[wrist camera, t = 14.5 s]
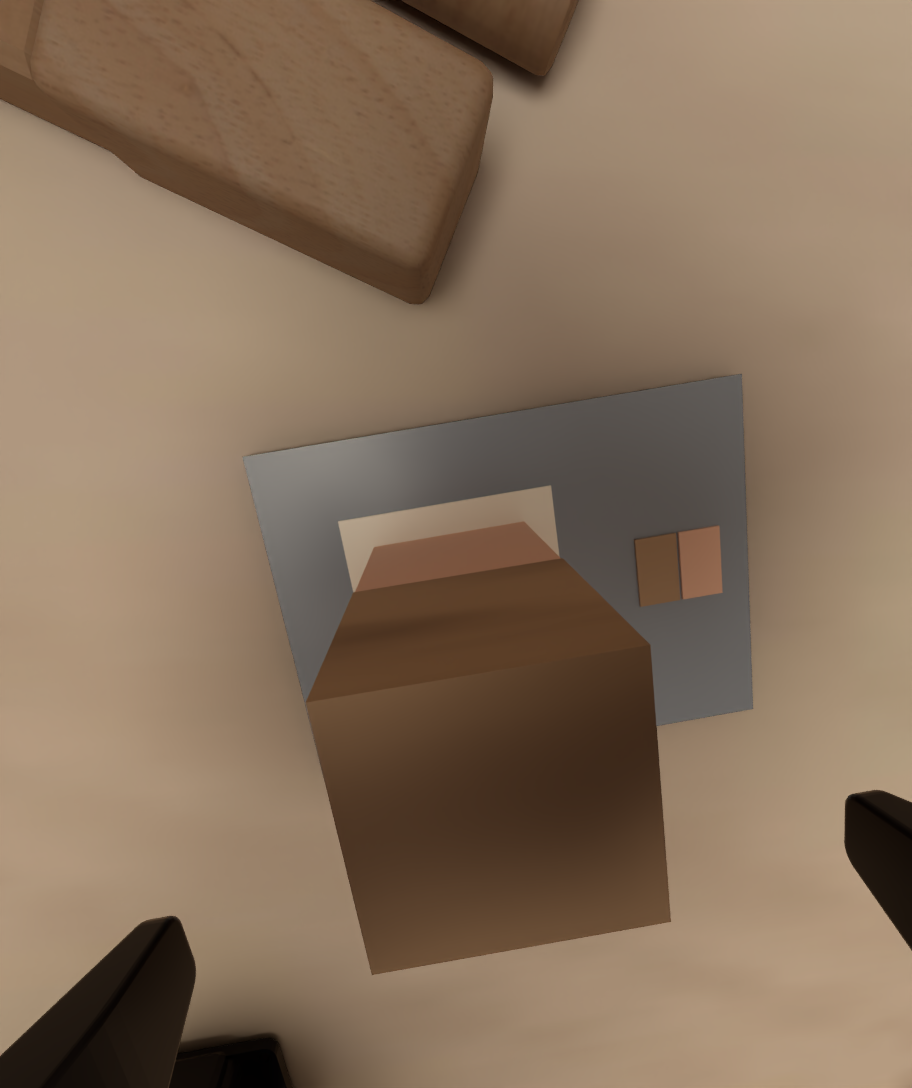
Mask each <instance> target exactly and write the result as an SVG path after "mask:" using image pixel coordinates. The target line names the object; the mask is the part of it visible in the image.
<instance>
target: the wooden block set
mask: <svg viewBox="0 0 912 1088" xmlns="http://www.w3.org/2000/svg"><path fill="white" fill-rule="evenodd" d="M401 1H403V2H405V3H407V4H409V5H411V6H412V7H414V8H416V9H418V10H420V11H421V12H423V13H425V14H427V15H429V16H430V17H432V18H434V19H436V20H438V21H439V22H441V23H443V24H445V25H447V26H448V27H450V28H452V29H454V30H456V31H457V32H459V33H461V34H463V35H465V36H466V37H468V38H470V39H472V40H474V41H475V42H477V43H479V44H481V45H483V46H484V47H486V48H488V49H490V50H492V51H493V52H495V53H497V54H499V55H501V56H502V57H504V58H506V59H508V60H510V61H511V62H513V63H515V64H517V65H519V66H520V67H522V68H524V69H526V70H528V71H530V72H531V73H533V74H535V75H545V74H546V73H547V72H548V71H549V69H550V68H551V67H552V65H553V62H554V60H555V58H556V55H557V53H558V51H559V48H560V46H561V43H562V41H563V38H564V36H565V33H566V31H567V28H568V26H569V23H570V21H571V18H572V16H573V13H574V11H575V8H576V5H577V3H578V0H401ZM492 98H493V76H492V73H491V72H490V70H489V69H488V68H487V67H486V66H485V65H484V64H483V63H482V61H480V60H478V59H476V58H474V57H472V56H471V55H469V54H467V53H465V52H463V51H462V50H460V49H458V48H456V47H454V46H452V45H451V44H449V43H447V42H445V41H443V40H442V39H440V38H438V37H436V36H434V35H432V34H431V33H429V32H427V31H425V30H423V29H422V28H420V27H418V26H416V25H414V24H412V23H411V22H409V21H407V20H405V19H403V18H402V17H400V16H398V15H396V14H394V13H392V12H391V11H389V10H387V9H385V8H383V7H382V6H380V5H378V4H376V3H374V2H372V1H371V0H0V99H2V100H4V101H7V102H9V103H11V104H13V105H15V106H17V107H19V108H21V109H23V110H25V111H28V112H30V113H32V114H34V115H36V116H38V117H40V118H42V119H44V120H47V121H49V122H51V123H53V124H55V125H57V126H59V127H61V128H63V129H66V130H68V131H70V132H72V133H74V134H76V135H78V136H80V137H82V138H85V139H87V140H89V141H91V142H93V143H95V144H97V145H99V146H101V147H104V148H106V149H108V150H110V151H111V152H112V153H113V154H115V155H116V156H117V157H118V158H119V159H121V160H122V161H123V162H124V163H125V164H126V165H128V166H129V167H130V168H131V169H132V170H134V171H135V172H136V173H137V174H138V175H139V176H141V177H142V178H144V179H147V180H149V181H151V182H153V183H155V184H157V185H159V186H161V187H164V188H166V189H168V190H170V191H172V192H174V193H176V194H178V195H181V196H183V197H185V198H187V199H189V200H191V201H193V202H195V203H198V204H200V205H202V206H204V207H206V208H208V209H210V210H212V211H214V212H217V213H219V214H221V215H223V216H225V217H227V218H229V219H231V220H234V221H236V222H238V223H240V224H242V225H244V226H246V227H248V228H251V229H253V230H255V231H257V232H259V233H261V234H263V235H265V236H268V237H270V238H272V239H274V240H276V241H278V242H280V243H282V244H285V245H287V246H289V247H291V248H293V249H295V250H297V251H299V252H301V253H304V254H306V255H308V256H310V257H312V258H314V259H316V260H318V261H321V262H323V263H325V264H327V265H329V266H331V267H333V268H335V269H338V270H340V271H342V272H344V273H346V274H348V275H350V276H352V277H355V278H357V279H359V280H361V281H363V282H365V283H367V284H369V285H372V286H374V287H376V288H378V289H380V290H382V291H384V292H386V293H388V294H391V295H393V296H395V297H397V298H399V299H401V300H403V301H405V302H408V303H410V304H422V303H423V302H424V301H425V300H426V299H427V298H428V296H429V295H430V293H431V290H432V288H433V285H434V283H435V280H436V278H437V275H438V272H439V270H440V267H441V265H442V262H443V260H444V257H445V255H446V252H447V249H448V247H449V244H450V242H451V239H452V237H453V234H454V232H455V229H456V226H457V224H458V221H459V219H460V216H461V214H462V211H463V208H464V206H465V203H466V201H467V198H468V196H469V193H470V191H471V188H472V185H473V183H474V180H475V178H476V175H477V173H478V169H479V164H480V159H481V154H482V149H483V143H484V138H485V133H486V128H487V123H488V118H489V113H490V108H491V103H492Z"/></svg>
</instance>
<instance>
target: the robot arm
mask: <svg viewBox="0 0 912 1088" xmlns="http://www.w3.org/2000/svg"><path fill="white" fill-rule="evenodd" d="M844 843H845V849H846V853H847V855H848V858H849V860H850V862H851V864H852V865H853V867H854V868H855V870H856V871H857V873H858V874H859V876H860V877H861V878H862V880H863V881H864V883H865V884H866V886H867V887H868V888H869V890H870V891H871V893H872V894H873V896H874V897H875V898H876V900H877V901H878V903H879V904H880V906H881V907H882V908H883V910H884V911H885V913H886V914H887V916H888V917H889V919H890V920H891V921H892V923H893V924H894V926H895V927H896V929H897V930H898V931H899V933H900V934H901V936H902V937H903V939H904V940H905V941H906V943H907V944H908V946H909V947H910V949H911V950H912V802H909V801H907V800H905V799H902V798H900V797H897V796H895V795H892V794H890V793H888V792H885V791H881V790H872V791H866V792H861V793H855V794H851V795H849V796H848V798H847V799H846V801H845V837H844ZM195 977H196V966H195V961H194V957H193V955H192V952H191V949H190V946H189V943H188V940H187V938H186V935H185V932H184V929H183V926H182V924H181V921H180V920H179V919H178V918H177V917H176V916H167V917H161V918H156V919H150V920H147V921H144V922H142V923H141V924H139V925H138V926H137V927H136V928H135V929H134V930H133V931H132V932H131V933H129V934H128V935H127V936H126V937H125V938H124V939H123V940H122V941H121V942H120V943H119V944H118V945H117V946H116V947H115V948H114V949H113V950H112V951H110V952H109V953H108V954H107V955H106V956H105V957H104V958H103V959H102V960H101V961H100V962H99V963H98V964H97V965H96V966H95V967H94V968H93V969H91V970H90V971H89V972H88V973H87V974H86V975H85V976H84V977H83V978H82V979H81V980H80V981H79V982H78V983H77V984H76V985H75V986H74V987H72V988H71V989H70V990H69V991H68V992H67V993H66V994H65V995H64V996H63V997H62V998H61V999H60V1000H59V1001H58V1002H57V1003H56V1004H55V1005H53V1006H52V1007H51V1008H50V1009H49V1010H48V1011H47V1012H46V1013H45V1014H44V1015H43V1016H42V1017H41V1018H40V1019H39V1020H38V1021H37V1022H36V1023H34V1024H33V1025H32V1026H31V1027H30V1028H29V1029H28V1030H27V1031H26V1032H25V1033H24V1034H23V1035H22V1036H21V1037H20V1038H19V1039H18V1040H17V1041H15V1042H14V1043H13V1044H12V1045H11V1046H10V1047H9V1048H8V1049H7V1050H6V1051H5V1052H4V1053H3V1054H2V1055H1V1056H0V1088H293V1087H292V1084H291V1081H290V1078H289V1074H288V1071H287V1068H286V1065H285V1062H284V1059H283V1056H282V1053H281V1049H280V1046H279V1044H278V1042H277V1041H275V1040H274V1039H271V1038H263V1039H258V1040H252V1041H247V1042H241V1043H236V1044H231V1045H225V1046H220V1047H214V1048H209V1049H204V1050H198V1051H193V1052H187V1053H182V1054H177V1053H178V1049H179V1045H180V1041H181V1037H182V1033H183V1029H184V1025H185V1021H186V1017H187V1013H188V1009H189V1005H190V1001H191V997H192V993H193V989H194V984H195Z"/></svg>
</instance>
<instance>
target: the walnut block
mask: <svg viewBox="0 0 912 1088" xmlns="http://www.w3.org/2000/svg"><path fill="white" fill-rule="evenodd" d="M306 707H307V711H308V715H309V719H310V723H311V727H312V731H313V735H314V739H315V743H316V748H317V752H318V756H319V760H320V764H321V768H322V772H323V776H324V780H325V784H326V789H327V793H328V797H329V801H330V805H331V809H332V813H333V817H334V821H335V825H336V830H337V834H338V838H339V842H340V846H341V850H342V854H343V858H344V862H345V866H346V870H347V875H348V879H349V883H350V887H351V891H352V895H353V899H354V903H355V907H356V911H357V916H358V920H359V924H360V928H361V932H362V936H363V940H364V944H365V948H366V952H367V957H368V961H369V965H370V969H371V973H372V975H374V974H380V973H385V972H391V971H397V970H402V969H408V968H413V967H419V966H425V965H430V964H436V963H442V962H447V961H453V960H458V959H464V958H470V957H475V956H481V955H487V954H492V953H498V952H503V951H509V950H515V949H520V948H526V947H532V946H537V945H543V944H548V943H554V942H560V941H565V940H571V939H577V938H582V937H588V936H593V935H599V934H605V933H610V932H616V931H622V930H627V929H633V928H638V927H644V926H650V925H655V924H661V923H666V922H671V918H670V904H669V891H668V877H667V863H666V850H665V836H664V822H663V809H662V795H661V781H660V768H659V754H658V740H657V727H656V713H655V699H654V686H653V672H652V658H651V645H650V644H649V643H648V642H647V641H646V640H645V639H644V638H643V637H642V636H641V635H640V634H639V633H638V632H637V631H636V630H635V629H634V628H633V627H632V626H631V625H630V624H629V623H628V622H627V621H626V620H625V619H624V618H623V617H622V616H621V615H620V614H619V613H618V612H617V611H616V610H615V609H614V608H613V607H612V606H611V605H610V604H609V603H608V602H607V601H606V600H605V599H604V598H603V597H602V596H601V595H600V594H599V593H598V592H597V591H596V590H595V589H594V588H592V587H591V586H590V585H589V584H588V583H587V582H586V581H585V580H584V579H583V578H582V577H581V576H580V575H579V574H578V573H577V572H576V571H575V570H574V569H573V568H572V567H571V566H570V565H569V564H568V563H567V562H566V561H565V560H564V559H563V558H560V559H554V560H548V561H542V562H536V563H530V564H523V565H517V566H511V567H505V568H499V569H493V570H487V571H481V572H475V573H468V574H462V575H456V576H450V577H444V578H438V579H432V580H426V581H420V582H414V583H407V584H401V585H395V586H389V587H383V588H377V589H371V590H365V591H359V592H353V594H352V596H351V599H350V601H349V603H348V606H347V608H346V610H345V613H344V615H343V617H342V619H341V622H340V624H339V626H338V629H337V631H336V633H335V636H334V638H333V640H332V643H331V645H330V647H329V650H328V652H327V654H326V656H325V659H324V661H323V663H322V666H321V668H320V670H319V673H318V675H317V677H316V680H315V682H314V684H313V686H312V689H311V691H310V693H309V696H308V698H307V700H306Z"/></svg>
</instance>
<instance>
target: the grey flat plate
mask: <svg viewBox="0 0 912 1088" xmlns="http://www.w3.org/2000/svg"><path fill="white" fill-rule="evenodd" d="M243 461H244V465H245V469H246V473H247V477H248V481H249V485H250V489H251V492H252V496H253V500H254V504H255V508H256V512H257V516H258V520H259V524H260V528H261V532H262V536H263V540H264V544H265V548H266V552H267V556H268V560H269V564H270V568H271V571H272V575H273V579H274V583H275V587H276V591H277V595H278V599H279V603H280V607H281V611H282V615H283V619H284V623H285V627H286V631H287V635H288V639H289V643H290V646H291V650H292V654H293V658H294V662H295V666H296V670H297V674H298V678H299V682H300V686H301V690H302V694H303V698H304V702H305V706H306V700H307V698H308V696H309V693H310V691H311V689H312V686H313V684H314V682H315V680H316V677H317V675H318V673H319V670H320V668H321V666H322V663H323V661H324V659H325V656H326V654H327V652H328V650H329V647H330V645H331V643H332V640H333V638H334V636H335V633H336V631H337V629H338V626H339V624H340V622H341V619H342V617H343V615H344V613H345V610H346V608H347V606H348V603H349V601H350V599H351V596H352V594H353V592H355V591H356V588H357V586H358V584H359V581H360V579H361V577H362V574H363V572H364V569H365V567H366V565H367V562H368V560H369V558H370V555H371V553H372V551H373V548H374V547H377V546H383V545H389V544H394V543H400V542H406V541H412V540H418V539H424V538H430V537H435V536H441V535H447V534H453V533H459V532H465V531H470V530H476V529H482V528H488V527H494V526H500V525H505V524H511V523H517V522H523V521H524V522H525V523H526V524H527V525H528V526H529V527H530V528H531V529H532V530H533V531H534V532H535V533H536V534H537V535H538V536H539V537H540V538H541V539H542V540H543V541H544V542H545V543H546V544H547V545H548V546H549V547H550V548H551V549H552V550H553V551H554V552H555V553H556V554H557V555H558V556H559V557H560V558H563V559H564V560H565V561H566V562H567V563H568V564H569V565H570V566H571V567H572V568H573V569H574V570H575V571H576V572H577V573H578V574H579V575H580V576H581V577H582V578H583V579H584V580H585V581H586V582H587V583H588V584H589V585H590V586H591V587H592V588H594V589H595V590H596V591H597V592H598V593H599V594H600V595H601V596H602V597H603V598H604V599H605V600H606V601H607V602H608V603H609V604H610V605H611V606H612V607H613V608H614V609H615V610H616V611H617V612H618V613H619V614H620V615H621V616H622V617H623V618H624V619H625V620H626V621H627V622H628V623H629V624H630V625H631V626H632V627H633V628H634V629H635V630H636V631H637V632H638V633H639V634H640V635H641V636H642V637H643V638H644V639H645V640H646V641H647V642H648V643H649V644H650V645H651V658H652V672H653V686H654V699H655V713H656V726H660V725H665V724H671V723H677V722H682V721H688V720H693V719H699V718H705V717H710V716H716V715H722V714H727V713H733V712H738V711H744V710H750V709H753V694H752V664H751V634H750V605H749V575H748V545H747V516H746V486H745V456H744V427H743V397H742V374H738V375H731V376H725V377H719V378H713V379H707V380H701V381H695V382H689V383H683V384H677V385H671V386H665V387H659V388H653V389H647V390H641V391H635V392H629V393H623V394H617V395H611V396H605V397H599V398H593V399H587V400H581V401H575V402H569V403H563V404H557V405H551V406H545V407H539V408H533V409H527V410H521V411H515V412H509V413H503V414H497V415H491V416H485V417H479V418H473V419H467V420H461V421H455V422H449V423H443V424H437V425H431V426H425V427H419V428H413V429H407V430H401V431H395V432H389V433H383V434H377V435H371V436H365V437H359V438H353V439H347V440H341V441H335V442H329V443H323V444H317V445H311V446H305V447H298V448H292V449H286V450H280V451H274V452H268V453H262V454H256V455H250V456H245V457H243ZM306 710H307V707H306ZM307 714H308V711H307ZM308 718H309V715H308ZM309 722H310V719H309ZM310 725H311V723H310ZM311 729H312V727H311ZM312 733H313V731H312ZM313 737H314V735H313ZM314 741H315V739H314ZM315 745H316V743H315ZM316 749H317V748H316ZM317 753H318V752H317ZM318 757H319V756H318ZM319 761H320V760H319ZM320 765H321V764H320ZM321 769H322V768H321ZM322 773H323V772H322ZM323 777H324V776H323ZM324 781H325V780H324ZM325 785H326V784H325Z"/></svg>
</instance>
